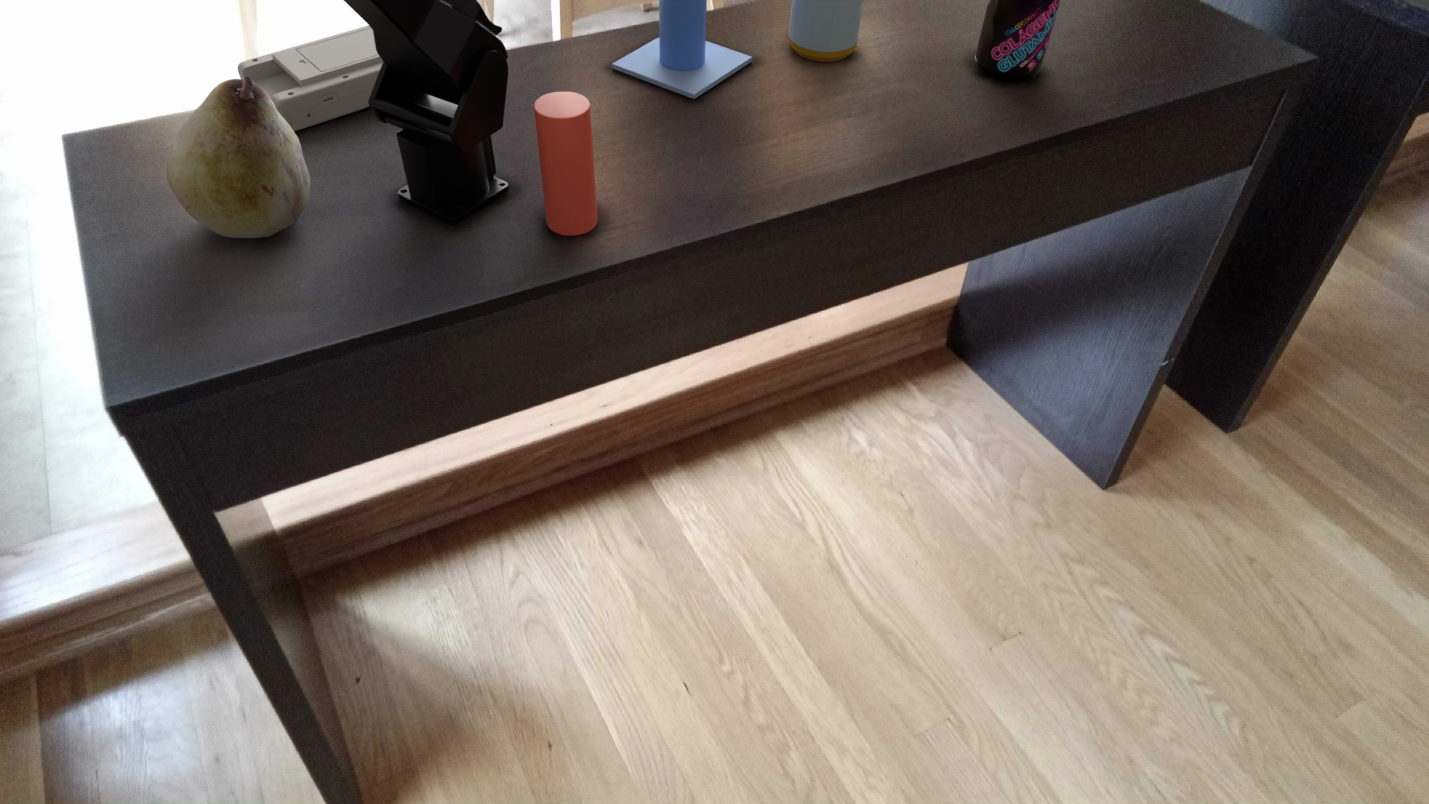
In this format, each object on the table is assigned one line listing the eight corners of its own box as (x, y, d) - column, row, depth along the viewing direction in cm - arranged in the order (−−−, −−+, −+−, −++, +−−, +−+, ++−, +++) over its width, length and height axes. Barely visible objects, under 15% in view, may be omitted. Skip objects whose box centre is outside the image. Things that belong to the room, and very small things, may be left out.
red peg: (574, 242, 73) (564, 124, 66) (536, 223, 75) (521, 106, 68) (607, 218, 76) (601, 102, 68) (569, 201, 77) (559, 85, 70)
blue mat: (694, 99, 90) (694, 94, 89) (611, 68, 94) (611, 63, 93) (752, 61, 96) (752, 56, 95) (672, 33, 99) (672, 29, 99)
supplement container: (968, 77, 95) (994, -30, 87) (976, 48, 99) (1001, -56, 92) (1037, 89, 93) (1069, -19, 86) (1042, 59, 98) (1072, -45, 91)
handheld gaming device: (383, 14, 92) (392, 52, 94) (232, 57, 85) (246, 97, 87) (429, 47, 87) (437, 86, 90) (273, 96, 80) (286, 136, 83)
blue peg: (698, 73, 92) (700, -32, 85) (653, 66, 93) (652, -39, 86) (710, 53, 95) (713, -50, 88) (667, 47, 96) (667, -56, 89)
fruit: (328, 248, 72) (282, 101, 63) (193, 273, 69) (126, 123, 60) (315, 178, 78) (271, 36, 70) (191, 198, 76) (130, 53, 67)
